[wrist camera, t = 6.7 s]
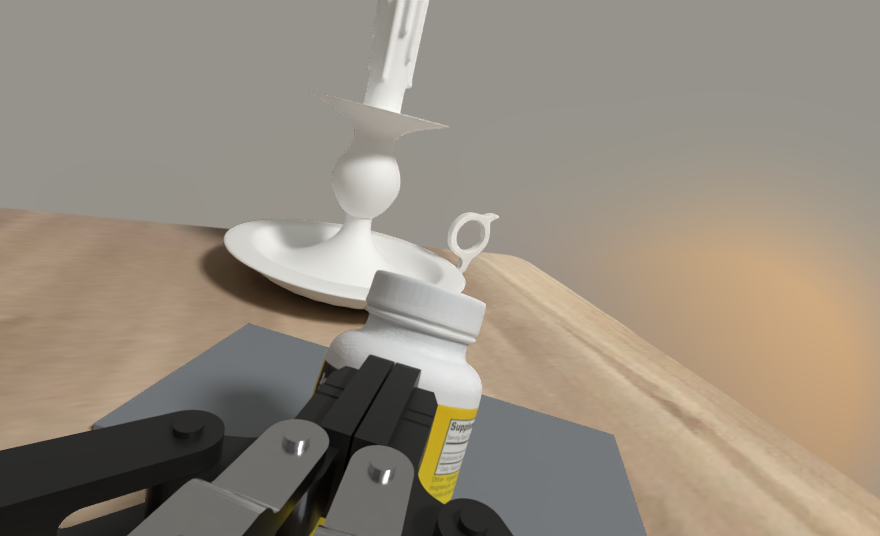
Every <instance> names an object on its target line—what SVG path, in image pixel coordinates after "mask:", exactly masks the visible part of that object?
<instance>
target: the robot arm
mask: <svg viewBox="0 0 880 536" xmlns="http://www.w3.org/2000/svg"><path fill="white" fill-rule="evenodd" d="M420 376H421V369H418V368H414V367H411V366H408V365H404V364H401V363H398V362H396V364H395V362H394V361H391V360H388V359H384V358H381V357H378V356H374V355H371V354H370V355H369V356H368V357H367V359H366V360H365V361H364V363H363V364H362V366H361V367H360V368H359V369H356V368H353V367H349V366H344V367H342V368H340V369H338V370H336V371H334V372H332V373H331V374H330V375H329V377H328V378H327V379H326V380H325V381H324V383H323V384H322V385H321V386H320V388H319V389H318V390H317V392H316V393H315V394H314V395H313V396H312V397H311V399H310V400H309V401H308V402H307V404H306V405H305V406H304V407H303V408H302V410H301V411H300V412H299V413H298V415H297V416H296V417H295V418H294V419H290V420H284V421H281V422H278V423H276V424H274V425H272V426H271V427H269V428H268V429H267V430H266V431H265V432H264V433H263V434H262V435H261V436H260V437H238V436H225V435H224V432H225V425H224V423H223V421H222V420H221V419H220V418H219V417H218V416H216V415H215V414H213V413H210V412H207V411H203V410H182V411H177V412H172V413H168V414H163V415H159V416H154V417H150V418H145V419H141V420H136V421H132V422H127V423H123V424H118V425H114V426H109V427H105V428H100V429H96V430H91V431H87V432H82V433H78V434H73V435H69V436H64V437H60V438H55V439H51V440H46V441H42V442H37V443H33V444H28V445H24V446H19V447H15V448H10V449H6V450H1V451H0V536H311V533H312V531H313V530H314V528H315V526H316V524H317V522H318V521H319V519H320V517H322V518H325V519H326V520H325V522H324V524H323V526H322V525H319V526H318V527H317V529H316V530H315V532H314V535H313V536H513V534H512V533H511V531H510V530H509V529H508V527H507V526H506V524H505V523H504V522H503V520H502V519H501V517H500V516H499V515H498V514H497V513H496V512H495V511H494V510H493V509H492V508H490V507H489V506H487V505H485V504H484V503H482V502H479V501H477V500H473V499H468V498H458V499H453V500H450V501H449V502H447V503H446V504H443V503H442V502H440V501H439V500H437V499H436V498H434V497H433V496H432V495H431V494H429V493H428V492H427V491H426V489H425V488H424V487H423V485H422V484H421V482H420V479H419V476H418V473H419V470H420V467H421V464H422V461H423V458H424V454H425V451H426V448H427V444H428V440H429V437H430V433H431V429H432V426H433V422H434V418H435V415H436V411H437V407H438V403H437V400H436V397H435V394H434V392H431V391H428V390H424V389H421V388H418V384H419V380H420ZM143 489H146V498H145V503H142V504H139V505H136V506H133V507H130V508H127V509H124V510H121V511H118V512H115V513H112V514H109V515H105V516H102V517H99V518H96V519H93V520H90V521H87V522H84V523H81V524H78V525H75V526H72V527H68V528H58V527H59V525H60V524H61V522H62V521H63V520H64V519H65V518H66V517H67V516H69V515H70V514H71V513H73V512H75V511H77V510H79V509H82V508H85V507H88V506H91V505H94V504H97V503H101V502H104V501H107V500H110V499H114V498H117V497H120V496H123V495H127V494H130V493H133V492H136V491H139V490H143Z"/></svg>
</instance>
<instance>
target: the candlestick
mask: <svg viewBox="0 0 880 536" xmlns="http://www.w3.org/2000/svg"><path fill="white" fill-rule="evenodd" d="M428 3H429V0H378V5H377V10H376V16H375V21H374V26H373V29H372V32H371V36H372V37H374V41H373V47H372V52H371V57H370V61H369V64H368V70H370V74H369V80H368V85H367V90H366V95H365V100H364V103H363V104H361V103H357V102H354V101H349V100H345V99H342V98H338V97H334V96H330V95H326V94H322V93H318V92H314V91H310V92H311V93H312V94H314V95H315V96H317V97H319V98H320V99H322V100H323V101H325V102H326V103H328V104H329V105H331V106H332V107H334V108H335V109H336V110H338V111H339V112H341V113H342V114H343V115H344V116H345V117H346V118H347V119H348V120H349V121H350V122H351V123H352V125H353V127H354V138H353V141H352V142H351V145H350V146H349V147H348V148H347V149H346V150H345V151H344V152H343V154H342V155H341V156H340V157H339V159H338V160H337V162H336V164H335V166H334V168H333V171H332V184H333V189H334V193H335V196H336V198H337V200H338V202H339V204H340V206H341V207H342V208H343V209H344V210H345V211H346V217H345V221H344V224H343V225H342V224H336V223H329V222H322V221H312V220H300V219H268V220H267V219H266V220H256V221H251V222H246V223H242V224H239V225H237V226H234V227H233V228H231V229H229V230H228V231H227V232H226V233H225V235H224V245H225V247H226V248H227V250H228V251H229V252H230V253H231V254H232V255H233V256H234V257H235V258H236V259H238V260H239V261H240V262H242V263H243V264H245V265H247V266H248V267H250V268H252V269H254V270H256V271H258V272H259V273H261V274H262V275H263V276H265V277H266V278H268V279H269V280H270V281H272V282H273V283H275V284H277V285H279V286H281V287H283V288H285V289H287V290H289V291H291V292H293V293H295V294H298V295H301V296H304V297H308V298H310V299H312V300H315V301H319V302H324V303H328V304H331V305H335V306H342V307H348V308H354V309H365V306H366V305H367V301H366V297H367V295H368V293H369V290H370V287H371V284H372V281H373V278H374V275H375V273H376V271H377V270H385V271H389V272H394V273H398V274H401V275H405V276H409V277H412V278H416V279H419V280H422V281H426V282H429V283H432V284H435V285H439V286H442V287H445V288H448V289H451V290H454V291H457V292H459V293H461V292H462V291H463V289H464V287H465V279H464V277H463V275H462V273H463V272H464V271H465V270H466V269H467V267H468V265H469V262H470V261H471V259H472V258H473V257H475V256H476V255H477V254H479V253H480V252H481V251H482V250H483V249H484V248H485V246H486V245H487V243H488V240H489V236H490V222H491V221H493V220H494V219H498V218H499V216H498V215H496V214H493V213H486V214H483V215H480V214H477V213H474V212H468V213H464V214H462V215H460V216H458V217H457V218H456V219H455V220H454V221H453V223H452V224H451V226H450V228H449V231H448V245H449V247H450V249H451V250H452V252H453V253H455V254H456V255H457V256H458V258H459V262H458V265H457V266H456V267H455V266H454V265H453V264H451V263H450V262H448V261H447V260H445V259H444V258H442V257H440V256H439V255H437V254H435V253H433V252H431V251H429V250H427V249H424V248H422V247H420V246H417V245H415V244H412V243H410V242H407V241H404V240H401V239H398V238H395V237H392V236H389V235H385V234H381V233H378V232H374V231H371V222H372V218H374V217H376V216H378V215H380V214H381V213H383V212H384V211H385V210H386V209H387V208H388V207H389V206H390V205H391V204H392V202H393V201H394V200H395V198H396V196H397V195H398V192H399V189H400V172H399V168H398V165H397V162H396V159H395V155H394V147H395V143H396V141H397V139H398V138H400V137H401V136H402V135H404V134H407V133H410V132H415V131H420V130H428V129H439V128H448V127H449V126H445V125H442V124H438V123H434V122H430V121H427V120H423V119H419V118H415V117H411V116H407V115H403V114H400V110H401V105H402V101H403V96H404V91H405V89H406V88H411V87H412V77H413V72H414V68H415V63H416V58H417V54H418V49H419V45H420V40H421V35H422V31H423V25H424V21H425V17H426V12H427V7H428ZM470 220H476V221H477V222H479V224H480V226H481V236H480V239H479V241H478V242H477V244H476V245H475V246H473V247H472V248H470V249H467V250H462V249H460V248H459V247H458V245H457V241H456V237H457V233H458V231H459V229H460V227H461V226H462V225H463V224H464V223H466V222H467V221H470Z"/></svg>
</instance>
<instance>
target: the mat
mask: <svg viewBox="0 0 880 536" xmlns="http://www.w3.org/2000/svg"><path fill="white" fill-rule="evenodd" d="M328 349H329V348H328V347H325V346H321V345H318V344H315V343H312V342H308V341H305V340H302V339H299V338H295V337H292V336H289V335H285V334H282V333H279V332H276V331H272V330H269V329H266V328H263V327H259V326H256V325H253V324H250V323H249V324H247V325H245V326H244V327H242V328H241V329H239V330H238V331H236V332H235V333H233V334H232V335H230V336H228V337H227V338H225V339H224V340H222V341H221V342H219V343H218V344H216V345H215V346H213V347H211V348H210V349H208V350H207V351H205V352H204V353H202V354H201V355H199V356H198V357H196V358H194V359H193V360H191V361H190V362H188V363H187V364H185V365H184V366H182V367H181V368H179V369H178V370H176V371H174V372H173V373H171V374H170V375H168V376H167V377H165V378H164V379H162V380H161V381H159V382H157V383H156V384H154V385H153V386H151V387H150V388H148V389H147V390H145V391H144V392H142V393H140V394H139V395H137V396H136V397H134V398H133V399H131V400H130V401H128V402H127V403H125V404H123V405H122V406H120V407H119V408H117V409H116V410H114V411H113V412H111V413H110V414H108V415H106V416H105V417H103V418H102V419H100V420H99V421H97V422H96V423H94V429H93V430H96V429H100V428H105V427H109V426H114V425H118V424H123V423H127V422H132V421H136V420H141V419H145V418H150V417H154V416H159V415H163V414H168V413H172V412H177V411H182V410H203V411H207V412H210V413H213V414H215V415H216V416H218V417H219V418H220V419H221V420H222V421H223V423H224V425H225V432H224V435H225V436H238V437H260V436H261V435H262V434H263V433H264V432H265V431H266V430H267V429H268V428H269V427H271V426H272V425H274V424H276V423H278V422H281V421H284V420H290V419H294V418H295V417H296V416H297V415H298V413H299V412H300V411H301V410H302V408H303V407H304V406H305V405H306V404H307V402H308V401H309V400H310V399H311V397H312V394H313V391H314V388H315V385H316V382H317V379H318V376H319V373H320V370H321V367H322V364H323V362H324V359H325V357H326V354H327V352H328ZM458 498H468V499H473V500H477V501H479V502H482V503H484V504H485V505H487V506H489V507H490V508H492V509H493V510H494V511H495V512H496V513H497V514H498V515H499V516H500V517H501V519H502V520H503V522H504V523H505V524H506V526H507V527H508V529H509V530H510V531H511V533H512V534H513V536H647V535H646V532H645V529H644V526H643V523H642V520H641V517H640V514H639V511H638V508H637V505H636V502H635V498H634V495H633V492H632V489H631V486H630V483H629V480H628V477H627V474H626V471H625V468H624V465H623V462H622V459H621V456H620V453H619V450H618V447H617V444H616V441H615V438H614V435H612V434H609V433H605V432H602V431H599V430H596V429H592V428H589V427H586V426H583V425H579V424H576V423H573V422H570V421H566V420H563V419H560V418H556V417H553V416H550V415H547V414H543V413H540V412H537V411H534V410H530V409H527V408H524V407H521V406H517V405H514V404H511V403H508V402H504V401H501V400H498V399H494V398H491V397H488V396H485V395H481V399H480V403H479V407H478V411H477V414H476V417H475V421H474V424H473V427H472V430H471V434H470V437H469V440H468V444H467V447H466V451H465V454H464V457H463V461H462V464H461V467H460V470H459V474H458V478H457V481H456V484H455V488H454V491H453V495H452V498H451V500H453V499H458Z"/></svg>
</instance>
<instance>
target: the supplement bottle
mask: <svg viewBox="0 0 880 536" xmlns="http://www.w3.org/2000/svg"><path fill="white" fill-rule="evenodd" d="M366 301H367V305H366V306H365V310H366V311H368V312H369V316H368V320H367V322H366V324H365V326H364V327H363V328H361V329H358V330H349V331H346V332H344V333H342V334H340V335H339V336H338V337H336V338H335V339H334V340H333V342H332V343H331V345H330V347H329V349H328V352H327V354H326V357H325V359H324V362H323V364H322V367H321V370H320V373H319V376H318V379H317V382H316V385H315V388H314V391H313V394H312V396H313V395H314V394H315V393H316V392H317V390H318V389H319V388H320V386H321V385H322V384H323V383H324V381H325V380H326V379H327V378H328V377H329V375H330V374H331V373H332V372H334V371H336V370H338V369H340V368H342V367H344V366H349V367H353V368H356V369H359V368H360V367H361V366H362V364H363V363H364V361H365V360H366V359H367V357H368V356H369V355H370V354H371V355H374V356H378V357H381V358H384V359H388V360H391V361H394V362H395V364H396V362H398V363H401V364H404V365H408V366H411V367H414V368H418V369H421V376H420V380H419V384H418V388H421V389H424V390H428V391H431V392H434V394H435V397H436V400H437V403H438V407H437V411H436V415H435V418H434V422H433V426H432V429H431V433H430V437H429V440H428V444H427V448H426V451H425V454H424V458H423V461H422V464H421V467H420V470H419V473H418V476H419V479H420V482H421V484H422V485H423V487H424V488H425V489H426V491H427V492H428V493H429V494H431V495H432V496H433V497H434V498H436V499H437V500H439V501H440V502H442V503H443V504H446V503H447V502H449V501H450V500H451V498H452V495H453V491H454V488H455V484H456V481H457V478H458V474H459V470H460V467H461V464H462V461H463V457H464V454H465V451H466V447H467V444H468V440H469V437H470V434H471V430H472V427H473V424H474V421H475V417H476V414H477V411H478V407H479V403H480V399H481V394H482V384H481V380H480V378H479V376H478V374H477V372H476V371H475V370H474V369H473V368H472V367H471V366H470V365H469V364H467V362H466V360H465V354H466V350H467V347H468V345H469V344H474V343H475V342H476V340H475V337H477V336H478V335H479V331H480V328H481V324H482V320H483V316H484V313H485V309H486V304H485V303H483V302H481V301H480V300H477V299H475V298H472V297H470V296H467V295H465V294H462V293H459V292H457V291H454V290H451V289H448V288H445V287H442V286H439V285H435V284H432V283H429V282H426V281H422V280H419V279H416V278H412V277H409V276H405V275H401V274H398V273H394V272H389V271H385V270H377V271H376V273H375V275H374V278H373V281H372V284H371V287H370V290H369V293H368V295H367V297H366ZM325 520H326V519H325V518H322V517H320V519H319V521H318V522H317V524H316V526H315V528H314V530H313V531H312V533H311V536H313V535H314V532H315V530H316V529H317V527H318V526H319V525H322V526H323V524H324V522H325Z"/></svg>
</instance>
